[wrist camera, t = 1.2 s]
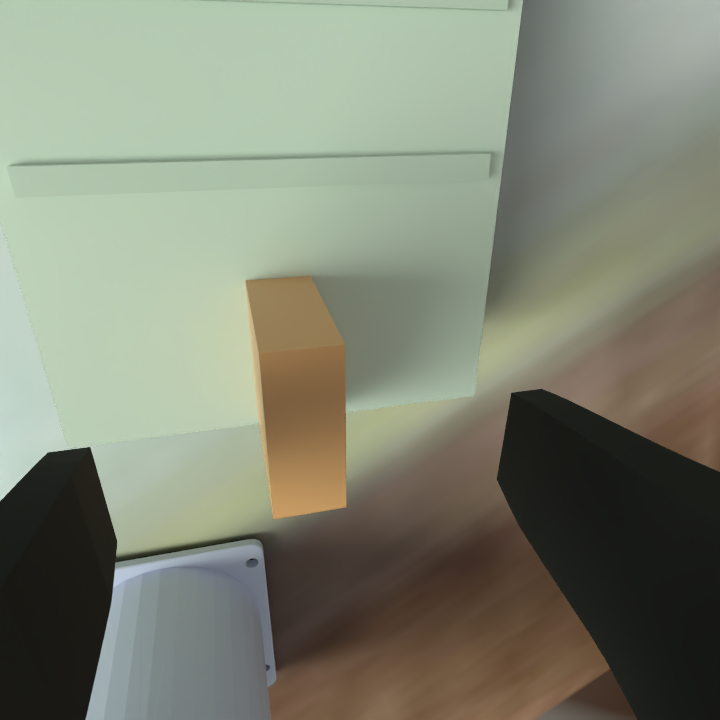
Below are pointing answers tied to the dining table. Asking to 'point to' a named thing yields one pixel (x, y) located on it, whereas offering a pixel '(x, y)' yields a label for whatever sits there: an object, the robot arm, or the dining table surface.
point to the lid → (253, 212)
